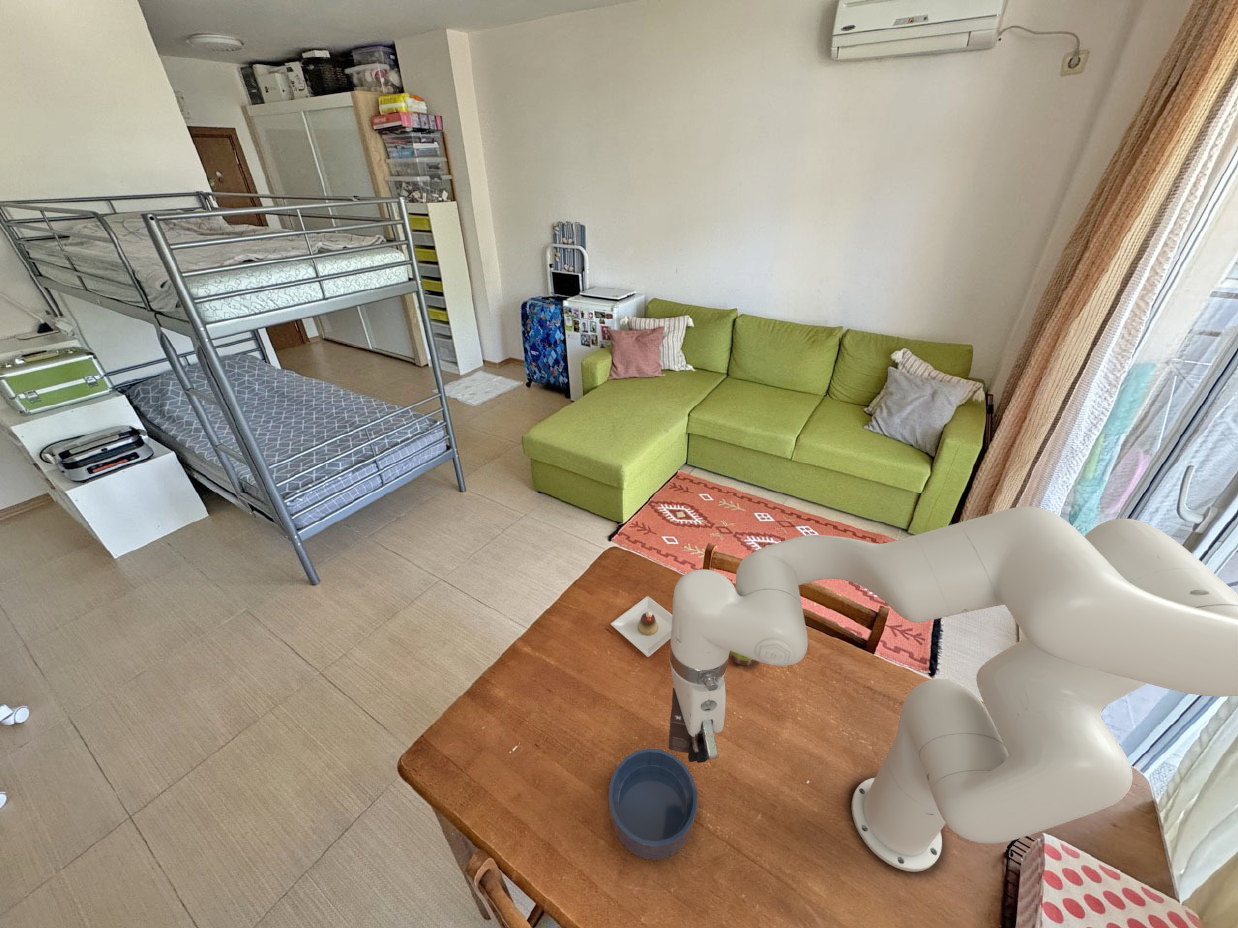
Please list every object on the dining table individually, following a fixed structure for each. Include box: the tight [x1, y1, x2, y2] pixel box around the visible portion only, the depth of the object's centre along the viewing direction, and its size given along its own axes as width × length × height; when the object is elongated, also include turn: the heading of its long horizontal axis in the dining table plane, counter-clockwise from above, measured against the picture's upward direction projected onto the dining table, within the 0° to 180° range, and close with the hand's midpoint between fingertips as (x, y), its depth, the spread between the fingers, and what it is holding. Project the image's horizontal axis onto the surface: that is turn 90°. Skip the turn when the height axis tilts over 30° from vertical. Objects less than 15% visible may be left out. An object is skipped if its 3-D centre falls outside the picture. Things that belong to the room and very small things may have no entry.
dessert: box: [610, 595, 672, 658], centre depth 110 cm, size 12×12×5 cm
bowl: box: [607, 747, 698, 861], centre depth 79 cm, size 14×14×6 cm
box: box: [667, 687, 704, 754], centre depth 72 cm, size 6×6×7 cm
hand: (690, 728), depth 73 cm, fingers closed on box, 7 cm apart
